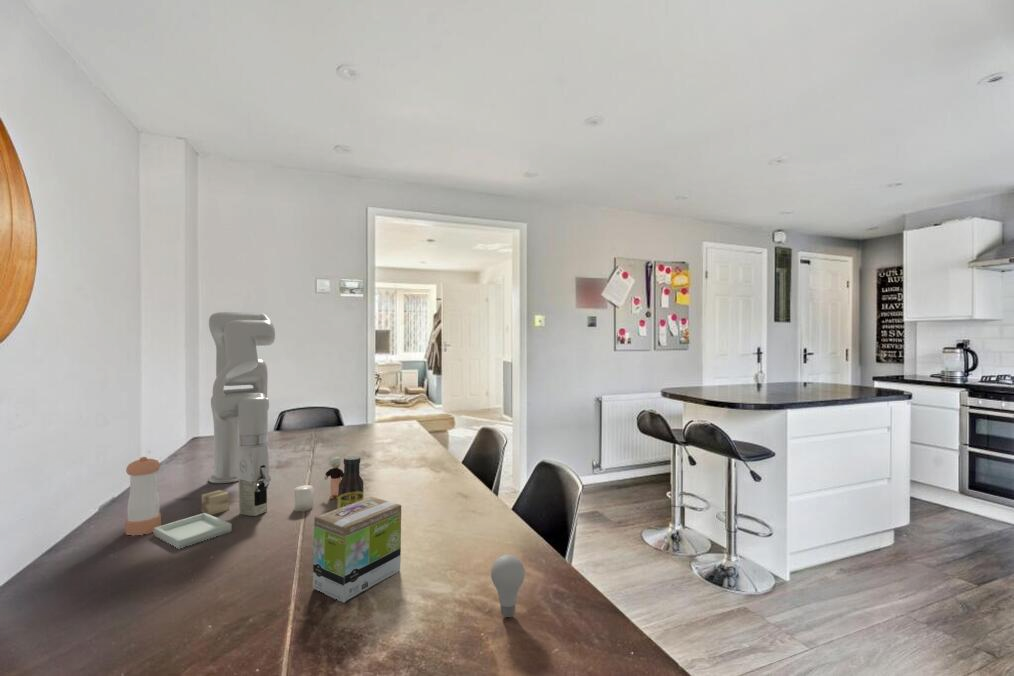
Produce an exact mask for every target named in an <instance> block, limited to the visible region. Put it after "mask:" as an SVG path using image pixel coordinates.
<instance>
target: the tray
mask: <svg viewBox="0 0 1014 676" xmlns="http://www.w3.org/2000/svg"><path fill="white" fill-rule="evenodd" d="M231 532H232V523H230V522H229V521H227V520H226V521H225V520H224V519H221V518H219V517H216V516H213V515H209V514H207V513H204V512H202V513H200V514H195V515H193V516H190V517H185V518H182V519H178V520H176V521H171V522H170V523H166V524H161V526H158V527H155V528H154V532H153V536H154V535H155V536H156V537H155V536H154V537H155V538H157V537H158V538H157V539H159V538H160V539H159V540H161V539H162V540H164V541H166V542H167V543H166V542H165V543H166V544H168V543H169V544H168V545H170V544H171V545H170V546H172V545H173V546H174V548H175V547H176V549H177V548H178V550H181V549H180V548H182V547H185V546H188V547H190V546H189V545H191V544H194V543H197V542H199V543H202V542H205V541H208V540H211V539H213V537H214V538H216V536H217V537H219V536H222V535H225V534H229V533H231ZM210 538H211V539H210ZM207 539H208V540H207ZM162 540H161V541H162ZM204 540H205V541H204ZM164 541H163V542H164ZM201 541H202V542H201ZM197 544H198V543H197ZM194 545H195V544H194ZM173 546H172V547H173ZM191 546H192V545H191ZM185 548H186V547H185ZM182 549H183V548H182Z"/></svg>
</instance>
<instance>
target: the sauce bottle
mask: <svg viewBox="0 0 1014 676" xmlns="http://www.w3.org/2000/svg"><path fill="white" fill-rule="evenodd" d="M360 464H361V457H360V456H358V455H351V456H345V457H344V458H343V467H344V468H343V473H344V476H343V478H341V482H340V483H339V493H338V499H337V508H336V509H338V508H341V507H344V506H347V505H350V504H352V503H355V502H358V501H361V500H364V494H365V493H364V480H363V478H362V477H361V475H360V474H361V473H360Z"/></svg>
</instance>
